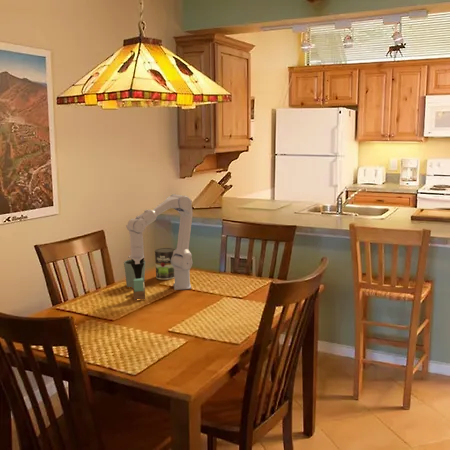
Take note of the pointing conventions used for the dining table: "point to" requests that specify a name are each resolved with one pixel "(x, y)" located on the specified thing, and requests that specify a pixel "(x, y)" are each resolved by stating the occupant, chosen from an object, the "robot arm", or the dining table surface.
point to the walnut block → (139, 294)
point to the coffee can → (164, 263)
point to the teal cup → (132, 273)
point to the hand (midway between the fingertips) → (138, 276)
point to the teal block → (138, 284)
